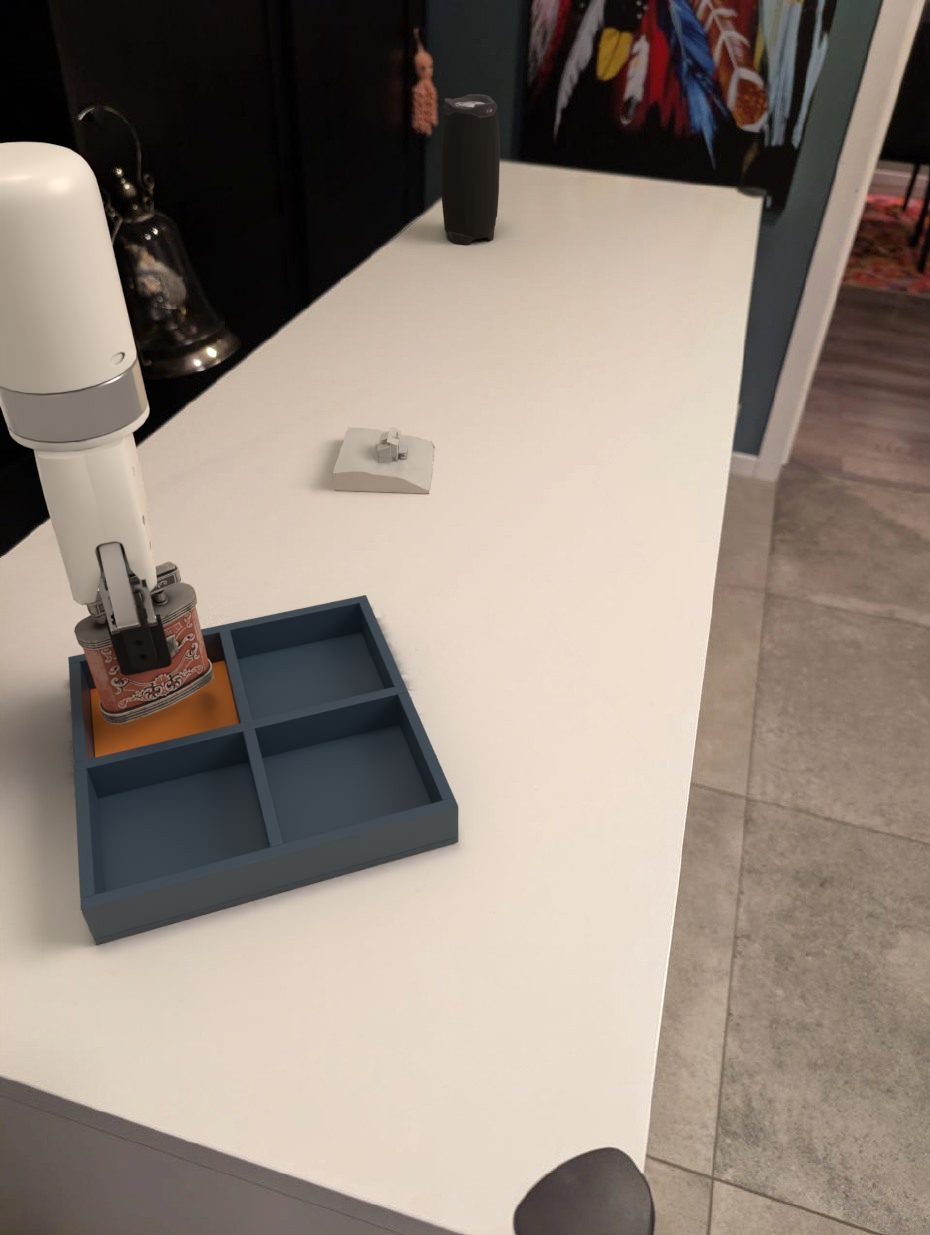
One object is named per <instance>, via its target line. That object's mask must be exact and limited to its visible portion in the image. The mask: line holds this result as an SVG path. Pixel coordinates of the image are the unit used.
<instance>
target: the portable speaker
mask: <svg viewBox="0 0 930 1235" xmlns="http://www.w3.org/2000/svg"><path fill="white" fill-rule="evenodd" d="M498 110H499V109H498V103H497V102H495V101H494V100H493V98H492V97H491V96H490V95H486V94H483V93H482V94H480V93H473V94H472V93H471V94H466V95H464V96H460V97H456V98H451V97H446V98H444V104H443V111H444V112H443V121H442V127H441V128H442V129H441V136H440V137H441V138H440V197H441V206H442V207H441V208H442V216H443V227H444V228H443V229H444V231H445V234H446V237H447V240H448V241H450V242H452V243H454V244H459V245H465V246H466V245H467V246H469V245H470V244H472V242H473V241H474V240H479V239H484V238H485V239H486V240H487V241H493V240H494V238H495V230H496V229H495V227H496V223H497V218H498V210H499V196H500V195H499V194H500V167H501V166H500V165H501V163H500V162H501V135H500V122H499V121H500V120H499V111H498Z"/></svg>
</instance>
